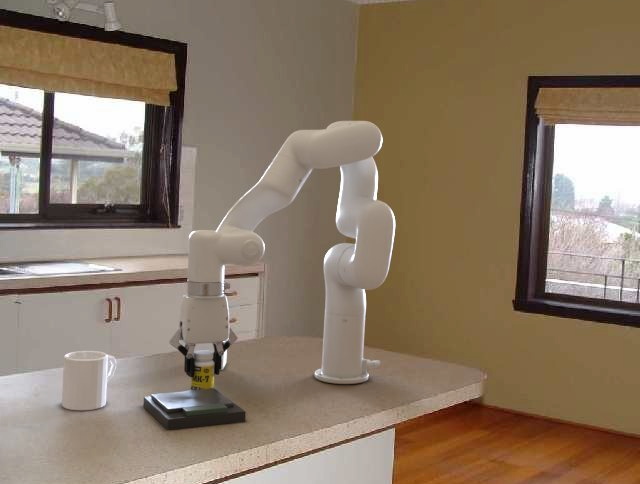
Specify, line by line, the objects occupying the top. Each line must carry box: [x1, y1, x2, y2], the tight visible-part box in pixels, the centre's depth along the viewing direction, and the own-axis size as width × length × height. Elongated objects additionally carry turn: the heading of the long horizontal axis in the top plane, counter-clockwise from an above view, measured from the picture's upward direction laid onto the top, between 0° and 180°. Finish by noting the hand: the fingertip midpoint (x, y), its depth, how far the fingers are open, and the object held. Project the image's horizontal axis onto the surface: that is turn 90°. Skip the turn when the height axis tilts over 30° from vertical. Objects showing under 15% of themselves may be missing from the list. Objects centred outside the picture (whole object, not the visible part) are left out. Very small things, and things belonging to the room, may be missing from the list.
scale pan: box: [150, 388, 235, 413], centre depth 171 cm, size 13×11×1 cm
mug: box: [61, 350, 118, 411], centre depth 174 cm, size 8×12×10 cm
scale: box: [142, 395, 247, 431], centre depth 171 cm, size 15×16×3 cm
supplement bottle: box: [190, 350, 215, 391], centre depth 186 cm, size 5×5×8 cm
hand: (202, 373), depth 186 cm, fingers closed on supplement bottle, 4 cm apart
